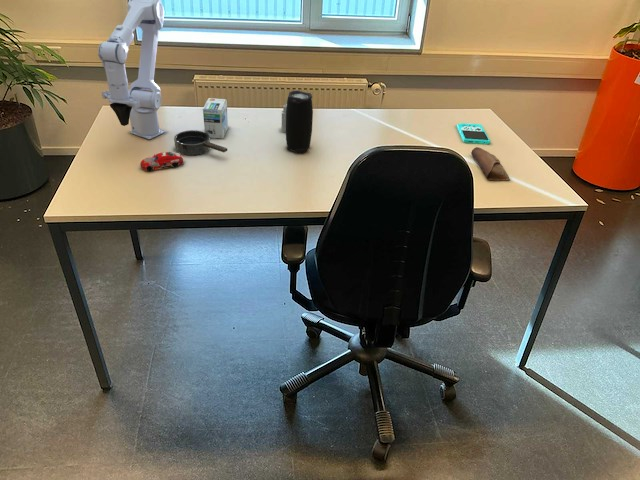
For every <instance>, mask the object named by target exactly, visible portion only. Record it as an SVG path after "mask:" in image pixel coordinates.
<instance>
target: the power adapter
mask: <svg viewBox="0 0 640 480" xmlns="http://www.w3.org/2000/svg"><path fill="white" fill-rule="evenodd" d="M285 102H286V104H284V105H283V107H282V110H281V126H280V127H281V131H280V132H281V133H286V132H285V130H286V107H287V101H285Z"/></svg>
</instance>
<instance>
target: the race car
mask: <svg viewBox="0 0 640 480" xmlns="http://www.w3.org/2000/svg"><path fill="white" fill-rule="evenodd" d="M184 162H185V161H184V157H183V156H182V154H181V153H179V152H174V151H162V152H158V153H156V154H153V155H152V156H149V157H146V158H144V159H142V160H141V161H140V164H139V167H140V168H141V169H142V170H143V171H148V172H153V171H155V170H162V169H168V168H169V169H170V168H178V166H181V165H184Z"/></svg>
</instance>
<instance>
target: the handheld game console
mask: <svg viewBox="0 0 640 480" xmlns="http://www.w3.org/2000/svg"><path fill="white" fill-rule="evenodd" d="M456 129H457V131H458V133H459V135H460V138H461V140H462V142H463V143H467V144H477V145H478V144H481V145H490V144H491V140H490V138H489V135H488V134H487V133H486V131H485V129H484V126H483V125H482V124H480V123H469V122H468V123H466V122H461V123H458V124H457V125H456Z"/></svg>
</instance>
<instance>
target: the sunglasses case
mask: <svg viewBox="0 0 640 480" xmlns="http://www.w3.org/2000/svg"><path fill="white" fill-rule="evenodd" d="M470 154H471V156H472V157H473V158H474V160H475V161H476V163H477V164H478V166H480V168H481V171H482V172H483V174H484V175H485V176H486V178H487V180H489V181H494V182H504V181H510V179H511V178H510V176H509V174H508V173H507V171H506V169H505V167H504V166H503V165H502V164H501V161H500V160H499V158H497V157H496V156H495V155H494V154H493V153H490V152H489V151H487V150H485V149H483V148H481V147H478V146H477V147H476V146H475V147H474V148H473V149H472V150H471V152H470Z"/></svg>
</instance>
